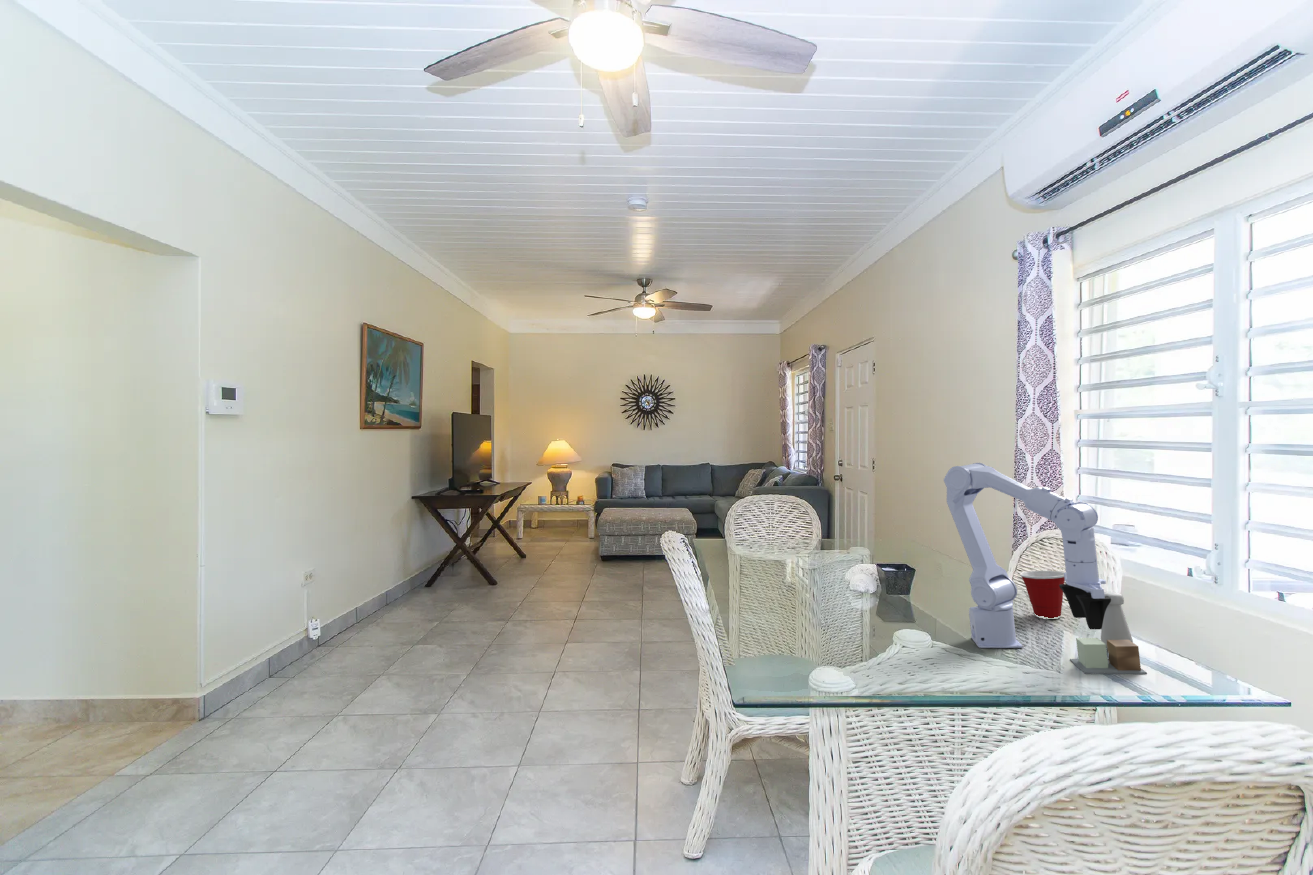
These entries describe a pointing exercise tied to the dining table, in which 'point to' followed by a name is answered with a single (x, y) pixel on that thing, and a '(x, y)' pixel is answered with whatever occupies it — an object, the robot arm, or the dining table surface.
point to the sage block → (1092, 652)
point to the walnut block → (1123, 655)
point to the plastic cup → (1044, 591)
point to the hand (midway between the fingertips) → (1087, 622)
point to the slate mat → (1104, 669)
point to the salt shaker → (1115, 620)
